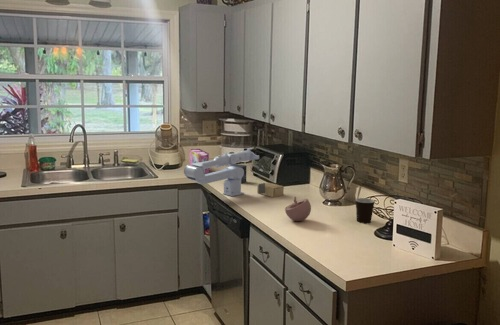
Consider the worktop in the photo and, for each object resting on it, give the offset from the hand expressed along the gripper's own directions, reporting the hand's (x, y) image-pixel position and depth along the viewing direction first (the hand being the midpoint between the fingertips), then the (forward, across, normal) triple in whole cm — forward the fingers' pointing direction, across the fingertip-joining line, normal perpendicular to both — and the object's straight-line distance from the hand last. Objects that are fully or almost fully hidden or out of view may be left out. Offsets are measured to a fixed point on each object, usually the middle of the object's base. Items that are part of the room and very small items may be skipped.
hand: (259, 153), depth 287 cm
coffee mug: (-6, -79, +17) cm, 81 cm away
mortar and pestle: (-31, -58, +17) cm, 68 cm away
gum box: (+4, +64, +26) cm, 69 cm away
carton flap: (-11, -15, +20) cm, 27 cm away
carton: (-5, -15, +20) cm, 26 cm away
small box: (+1, +21, +23) cm, 31 cm away
